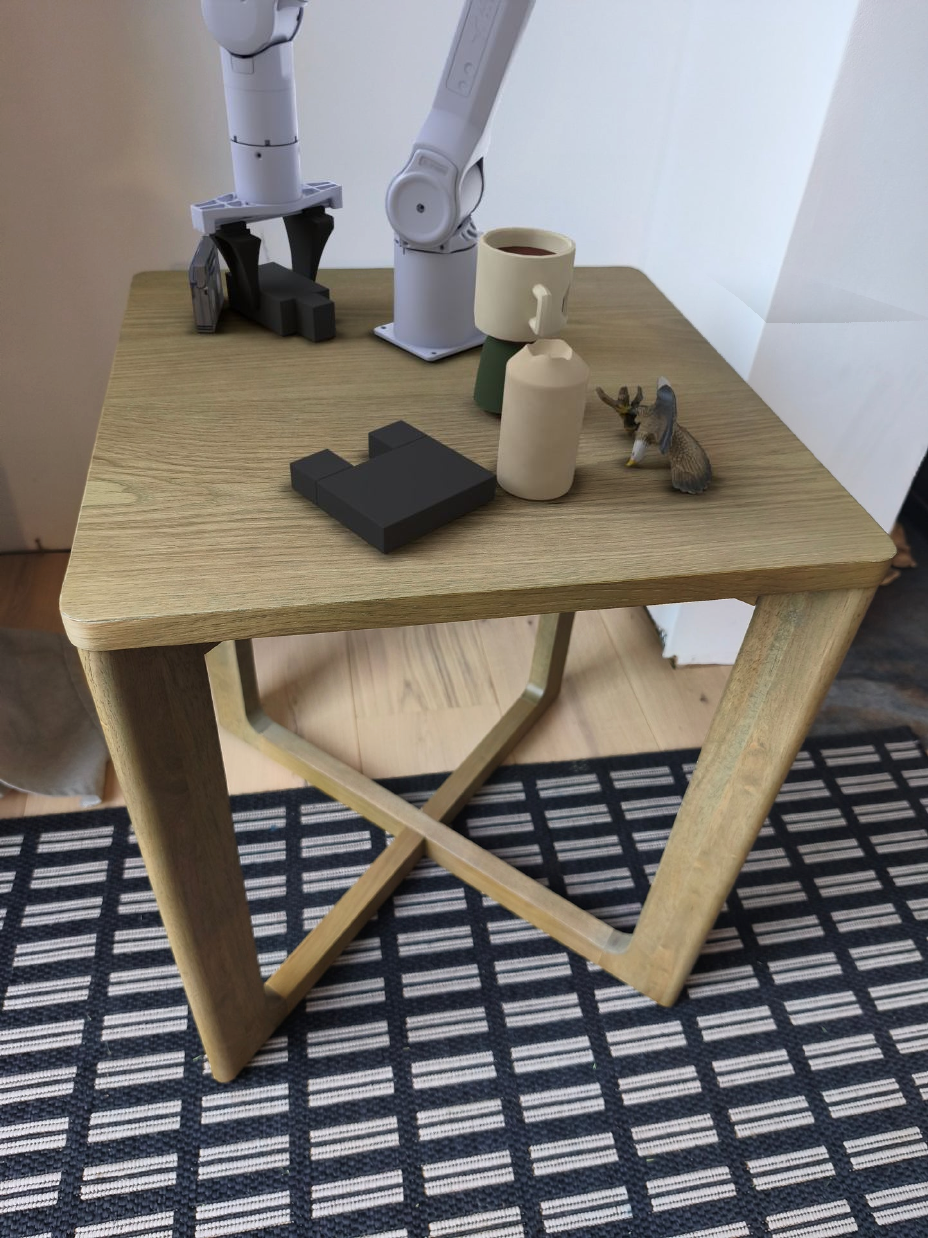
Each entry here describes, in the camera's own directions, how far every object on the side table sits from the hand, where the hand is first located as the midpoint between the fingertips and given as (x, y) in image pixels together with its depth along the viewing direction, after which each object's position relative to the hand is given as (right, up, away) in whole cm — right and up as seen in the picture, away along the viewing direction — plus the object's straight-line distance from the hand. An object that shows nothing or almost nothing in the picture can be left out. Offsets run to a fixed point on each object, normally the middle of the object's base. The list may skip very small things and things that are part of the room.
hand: (278, 299), depth 81 cm
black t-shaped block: (+1, -2, 0) cm, 2 cm away
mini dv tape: (-6, -2, 0) cm, 7 cm away
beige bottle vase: (+23, -20, -19) cm, 36 cm away
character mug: (+21, -13, -11) cm, 27 cm away
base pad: (+13, -22, -22) cm, 33 cm away
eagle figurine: (+32, -19, -17) cm, 40 cm away
